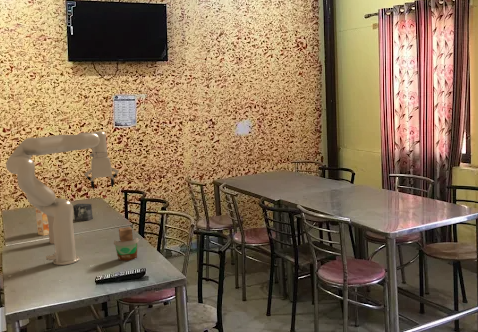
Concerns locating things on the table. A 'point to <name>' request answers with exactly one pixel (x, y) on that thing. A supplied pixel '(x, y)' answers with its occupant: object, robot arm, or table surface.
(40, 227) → the coffeecake box
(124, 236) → the walnut block
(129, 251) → the food container
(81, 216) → the box
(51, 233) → the candle
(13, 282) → the table surface
